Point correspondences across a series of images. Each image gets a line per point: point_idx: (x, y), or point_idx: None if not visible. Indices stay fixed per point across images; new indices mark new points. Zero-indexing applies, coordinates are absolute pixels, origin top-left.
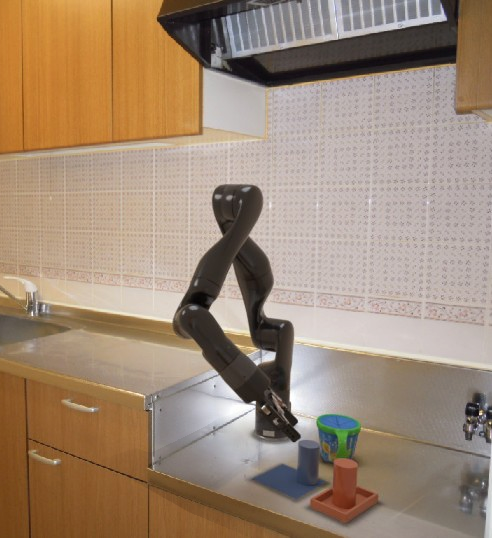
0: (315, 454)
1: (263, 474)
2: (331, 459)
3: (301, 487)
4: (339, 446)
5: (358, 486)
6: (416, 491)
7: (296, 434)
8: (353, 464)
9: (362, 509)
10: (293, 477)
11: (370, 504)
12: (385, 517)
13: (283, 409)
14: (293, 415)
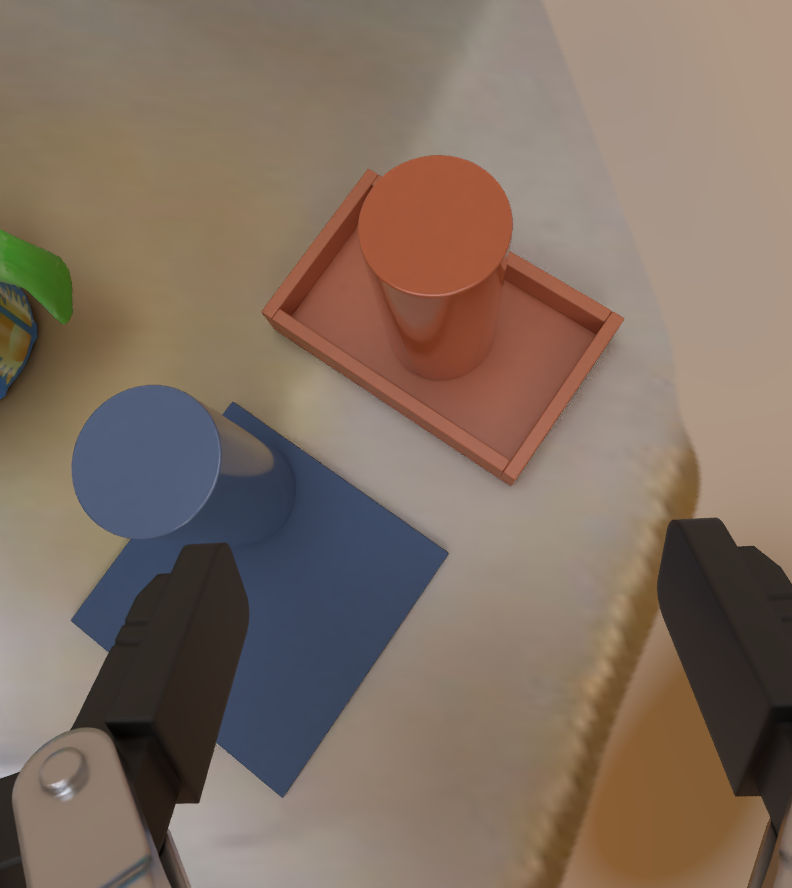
0: (227, 423)
1: None
2: (14, 361)
3: (321, 523)
4: (25, 281)
5: (314, 247)
6: (227, 43)
7: (758, 572)
8: (445, 178)
9: None
10: None
11: None
12: (493, 176)
13: (143, 784)
14: (168, 605)
